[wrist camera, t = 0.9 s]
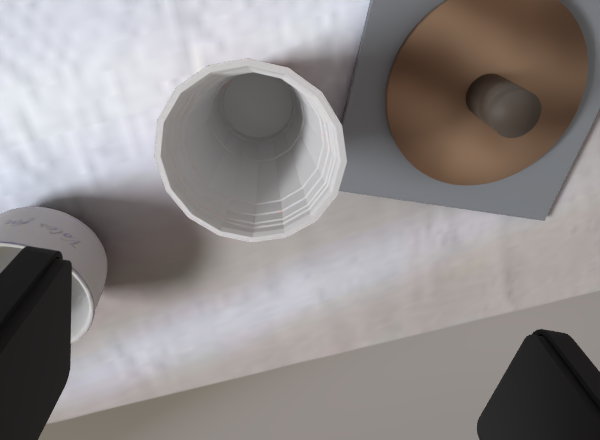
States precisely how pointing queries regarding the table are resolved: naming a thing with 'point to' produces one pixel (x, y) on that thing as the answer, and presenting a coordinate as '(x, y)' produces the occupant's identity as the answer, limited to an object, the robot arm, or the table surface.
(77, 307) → the teacup
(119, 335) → the table surface
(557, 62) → the lid
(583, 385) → the robot arm
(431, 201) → the mat
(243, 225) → the plastic cup
